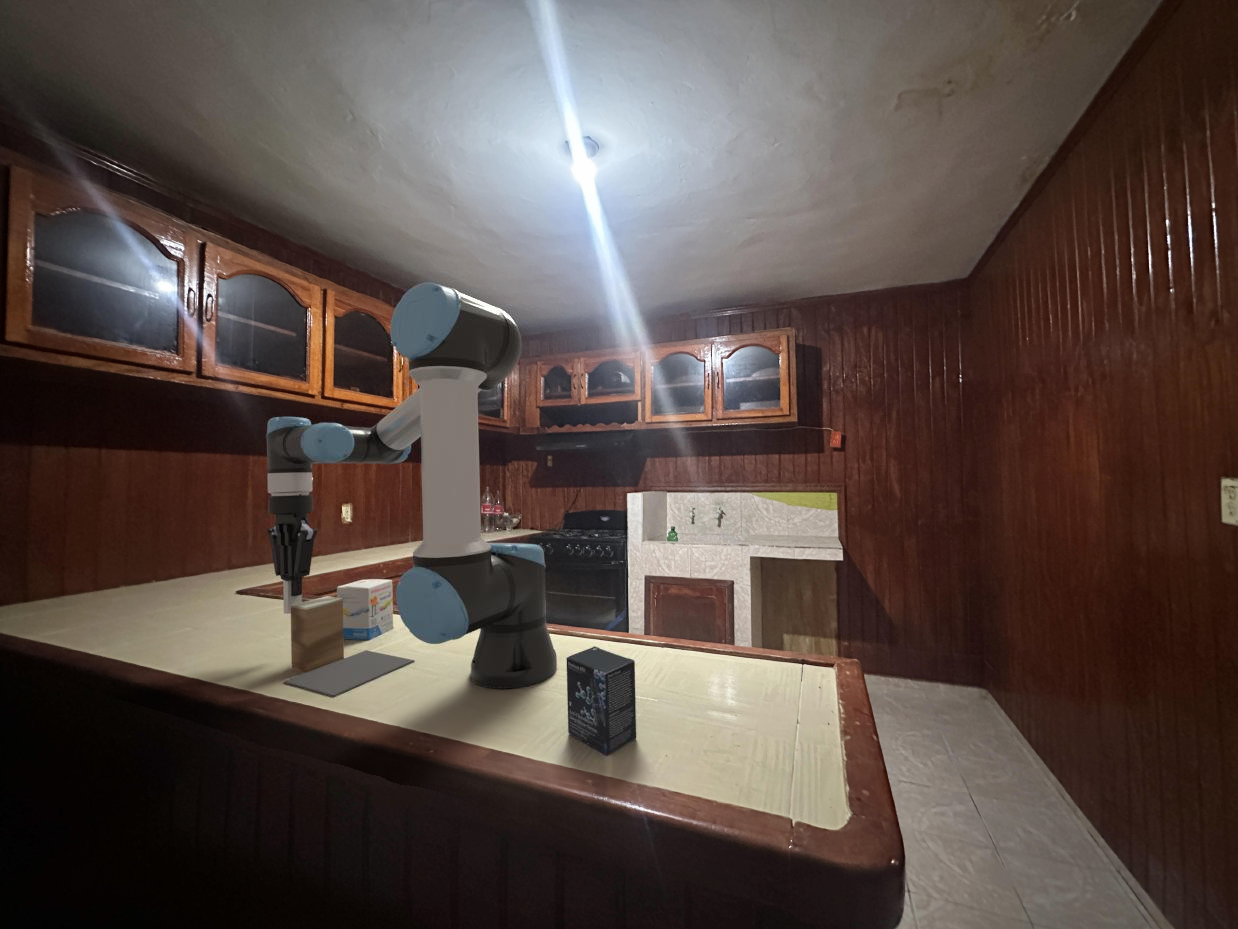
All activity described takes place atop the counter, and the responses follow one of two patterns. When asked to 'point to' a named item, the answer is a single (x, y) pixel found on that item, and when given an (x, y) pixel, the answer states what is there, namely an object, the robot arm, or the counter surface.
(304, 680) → the mat
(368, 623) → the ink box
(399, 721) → the counter surface
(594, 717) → the box
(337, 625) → the block
